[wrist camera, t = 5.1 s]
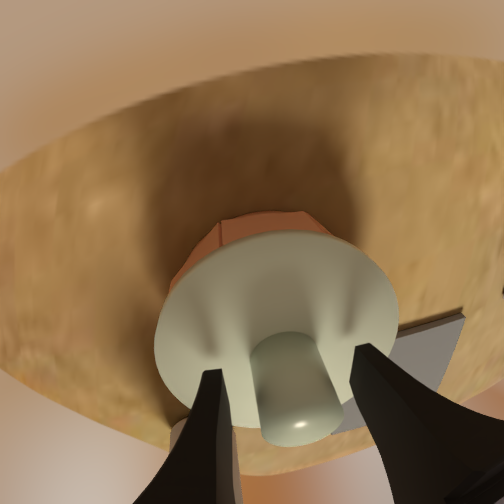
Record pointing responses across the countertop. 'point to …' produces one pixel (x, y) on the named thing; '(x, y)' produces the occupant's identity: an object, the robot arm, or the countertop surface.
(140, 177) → the countertop surface
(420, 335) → the mat
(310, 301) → the lid
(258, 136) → the countertop surface
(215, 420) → the robot arm
